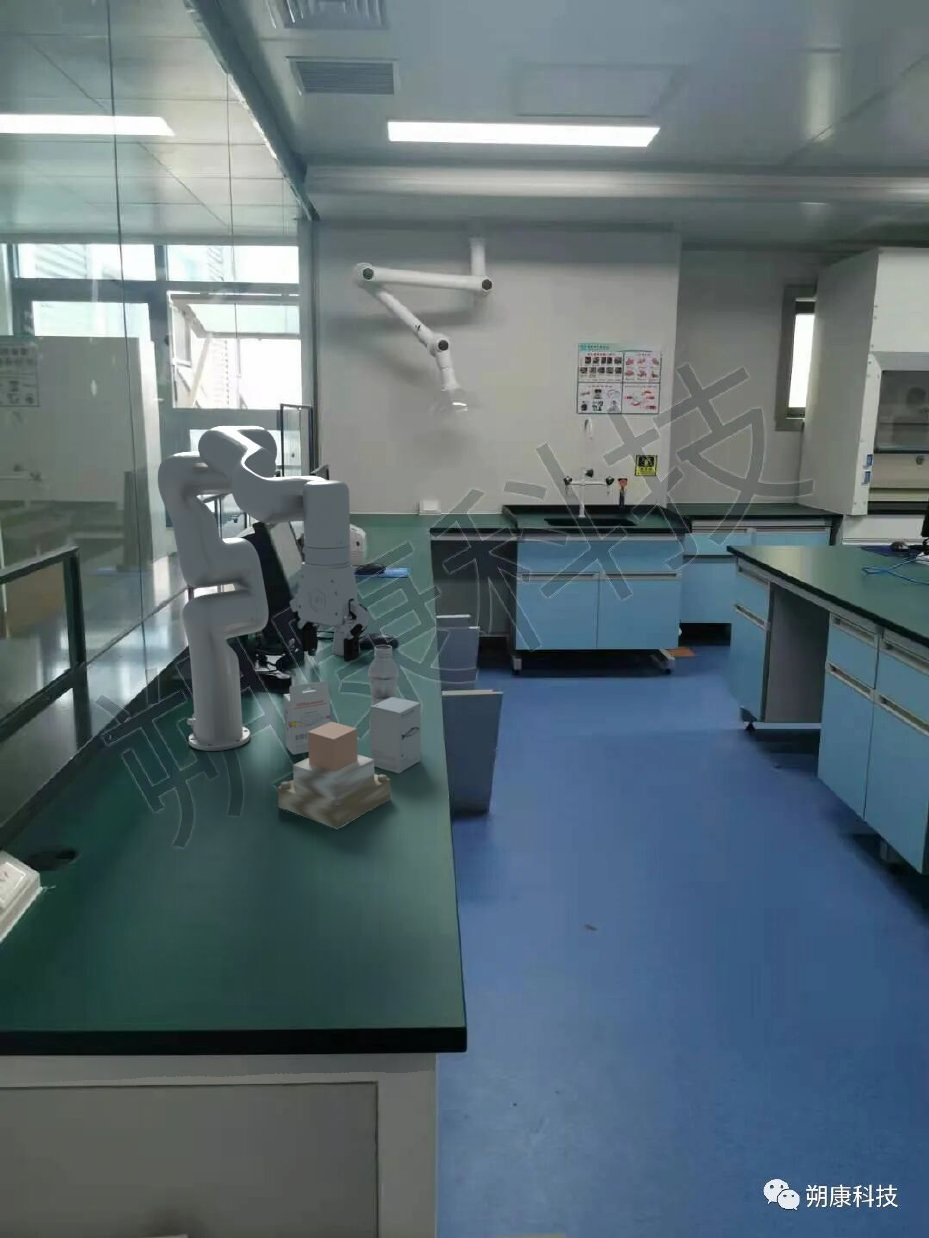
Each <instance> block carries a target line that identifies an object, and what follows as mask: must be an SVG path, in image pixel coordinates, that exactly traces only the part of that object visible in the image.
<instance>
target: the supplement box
mask: <svg viewBox="0 0 929 1238" xmlns="http://www.w3.org/2000/svg"><path fill="white" fill-rule="evenodd" d="M369 714H370V715H369V716H370V717H369V721H370V728H369V731H370V734H369V735H370V737H369V738H370V758H371V759H374V768H379V769H381V770H385V771H388V772H392V773H396V774H401V773H403V772H404V771H405V770H407V769H408V768H411V767H413V766H414V765H416V764H417V763H419V762H421V702H420V701H419V702H418V701H414V700H410V699H404V698H401V697H400V698H399V697H397V698H396V697H390V698H388V699H386V700H384V701H382V702H379V703H377V704H375V705H373V706H369Z"/></svg>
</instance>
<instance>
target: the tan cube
mask: <svg viewBox="0 0 929 1238" xmlns="http://www.w3.org/2000/svg"><path fill="white" fill-rule="evenodd" d="M308 749H309V752H308V758H309V764H311V765H314V766H317V767H321V768H324V769H327V770H330V771H333V772H336V771H338V770H340V769H342V768H344V767H346V766H347V765H349V764H351V763H353V762H355V761H357V760H358V756H357V754H358V729H357V728H356V727H354V726H353V727H352V726H349V725H345V724H341V723H338V722H334V721H331V722H329V723H327V724H325V725H322V726H320V727H318V728H315V729H313V730H311V731H308Z"/></svg>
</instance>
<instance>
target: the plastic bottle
mask: <svg viewBox="0 0 929 1238" xmlns="http://www.w3.org/2000/svg"><path fill="white" fill-rule="evenodd" d="M373 653H374V654H373V656H374V657H375V658H373V660H372V662H371V663H370V665H369V667H368V669H367V674H368V675H367V676H368V681H369V686H370V687H369V688H370V695H371V696H370V698H371V704H370V705H371V706H373V705H375V704H377V703H379V702H382V701H384V700H386V699H388V698H390V697H396V698H398V684H399V675H400V671H399V670H400V669H399V666H398V665H397V663H396V662H395V661H394V659H393V658H392V657H393V646H391V645H387V644H379V645H375V646H374V652H373ZM371 706H370V707H371ZM368 722H369V724H368V726H369V727H368V728H369V729H370V720H369V721H368Z"/></svg>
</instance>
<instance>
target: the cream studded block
mask: <svg viewBox="0 0 929 1238" xmlns="http://www.w3.org/2000/svg"><path fill="white" fill-rule="evenodd" d="M357 756H358V760H357V761H355V762H353V763H351V764H349V765H347V766H346V767H344V768H342V769H340V770H338V771H336V772H333V771H330V770H327V769H324V768H321V767H317V766H314V765H311V764H309V757H307V758H305V759H303V760H301V761H299V762H296V763H295V764H292V768H293V769H292V770H293V773H292V774H293V779H291V780H289V781H282V782H280V786H277V799H278V800H277V805H278V807H280V808H283V809H288V810H290V811H292V812H294V813H297V814H298V815H301V816H305V817H308V818H310V819H312V820H315V821H317V822H322V823H324V824H326V825H330V826H333V827H336V828H339V827H341V826H342V825H344V824H346V823H347V822H350V821H352V820H353V819H355V818H357V817H358V816H361V815H363V814H364V813H366V812H368V811H369V810H370V809H373V808H375V807H377V806H378V807H380V806H382V805H383V804H385V803H387V802H389V801H390V800H391V778H390V777H389V778H388V776H387V775H386V774H379V775H378V774H376V773H375V766H374V759H371V757H368V756H364V755H360V754H358V753H357ZM382 803H383V804H382ZM381 804H382V805H381ZM379 805H380V806H379ZM378 807H377V808H378ZM375 809H376V808H375ZM373 810H374V809H373ZM368 813H369V812H368ZM366 814H367V813H366ZM298 815H297V816H298ZM301 816H300V817H301ZM363 816H364V815H363ZM361 817H362V816H361ZM312 820H311V821H312ZM317 822H316V823H317Z"/></svg>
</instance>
